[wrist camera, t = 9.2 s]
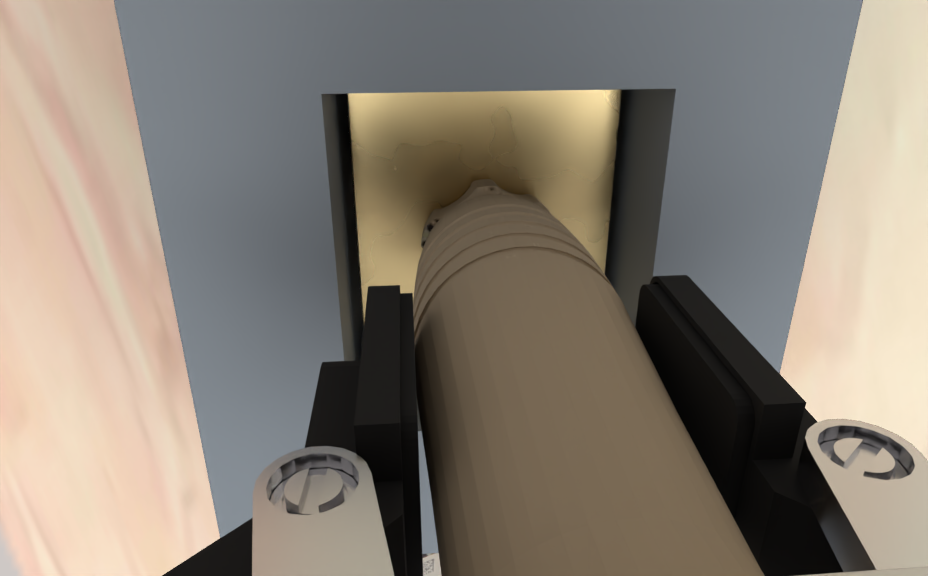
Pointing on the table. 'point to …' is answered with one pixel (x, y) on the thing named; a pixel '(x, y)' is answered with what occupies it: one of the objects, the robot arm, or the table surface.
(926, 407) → the table surface
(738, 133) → the collar block
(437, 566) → the syrup box
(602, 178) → the plate
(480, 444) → the handle
